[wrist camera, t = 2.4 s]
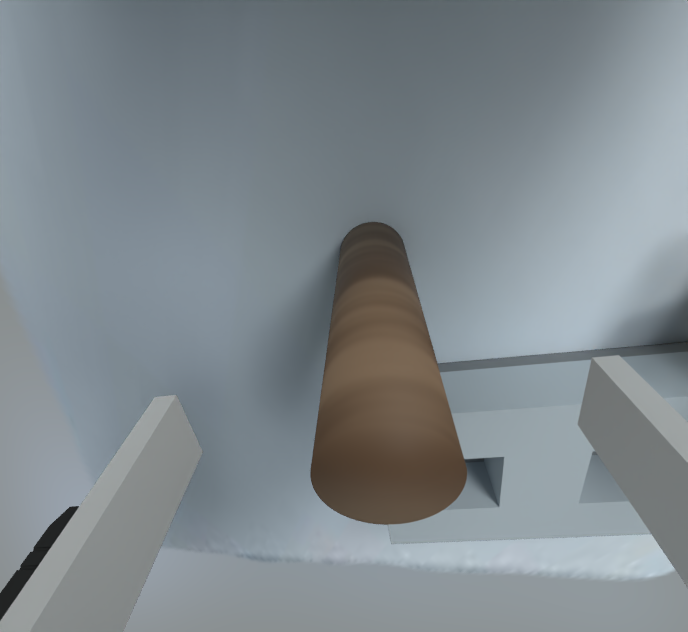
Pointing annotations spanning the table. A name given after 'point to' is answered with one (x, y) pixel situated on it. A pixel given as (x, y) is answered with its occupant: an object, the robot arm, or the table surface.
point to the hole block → (538, 448)
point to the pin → (383, 394)
